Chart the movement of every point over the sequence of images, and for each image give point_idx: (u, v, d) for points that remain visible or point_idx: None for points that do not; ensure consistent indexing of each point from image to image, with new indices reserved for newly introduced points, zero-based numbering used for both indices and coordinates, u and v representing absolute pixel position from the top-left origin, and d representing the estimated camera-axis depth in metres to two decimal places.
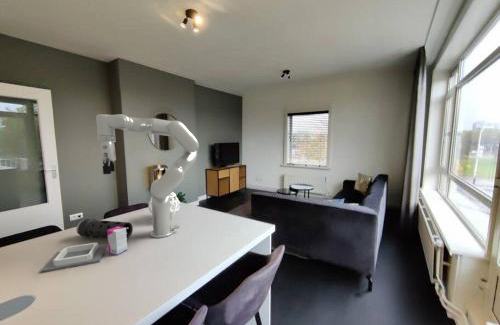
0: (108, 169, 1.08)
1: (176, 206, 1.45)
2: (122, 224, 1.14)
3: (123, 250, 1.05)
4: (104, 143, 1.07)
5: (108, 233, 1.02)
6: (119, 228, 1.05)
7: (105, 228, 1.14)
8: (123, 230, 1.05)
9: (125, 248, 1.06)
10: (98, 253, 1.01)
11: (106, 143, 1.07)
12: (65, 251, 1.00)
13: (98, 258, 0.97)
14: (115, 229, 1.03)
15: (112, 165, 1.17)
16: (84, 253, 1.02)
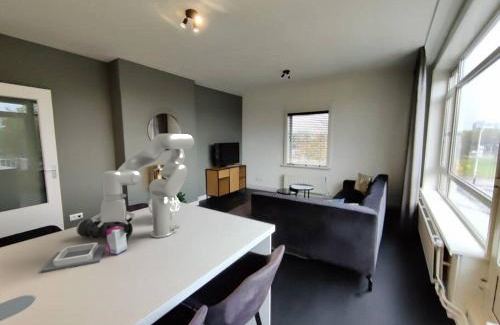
0: None
1: (176, 206, 1.45)
2: (122, 224, 1.14)
3: (123, 249, 1.05)
4: (124, 201, 1.04)
5: (107, 233, 1.02)
6: (118, 228, 1.04)
7: (105, 228, 1.14)
8: (122, 230, 1.04)
9: (125, 248, 1.06)
10: (98, 253, 1.01)
11: (124, 200, 1.05)
12: (65, 251, 1.00)
13: (98, 258, 0.97)
14: (114, 229, 1.03)
15: (103, 226, 1.02)
16: (84, 253, 1.02)
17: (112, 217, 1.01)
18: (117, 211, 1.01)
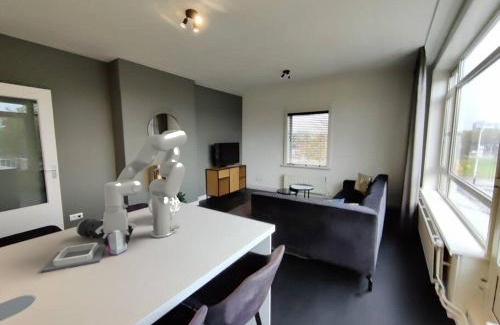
0: None
1: (176, 206, 1.45)
2: None
3: (123, 250, 1.05)
4: (125, 211, 1.05)
5: (108, 233, 1.02)
6: None
7: None
8: None
9: (125, 248, 1.06)
10: (98, 253, 1.01)
11: (126, 210, 1.05)
12: (65, 251, 1.00)
13: (98, 258, 0.97)
14: None
15: None
16: (84, 253, 1.02)
17: (115, 228, 1.02)
18: (119, 222, 1.02)
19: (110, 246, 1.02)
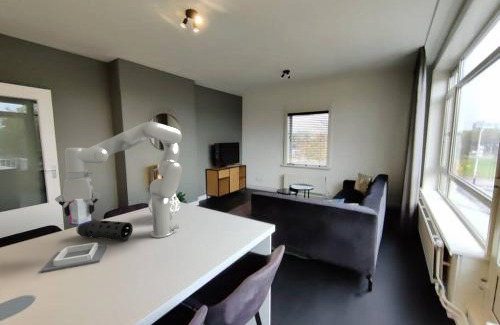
0: None
1: (176, 206, 1.45)
2: (122, 224, 1.14)
3: (86, 221, 0.98)
4: (89, 179, 0.98)
5: (69, 202, 0.96)
6: None
7: (105, 228, 1.14)
8: None
9: (89, 219, 0.99)
10: (98, 253, 1.01)
11: (90, 179, 0.99)
12: (65, 251, 1.00)
13: (98, 258, 0.97)
14: None
15: None
16: (84, 253, 1.02)
17: (77, 196, 0.95)
18: (82, 190, 0.96)
19: (71, 216, 0.96)
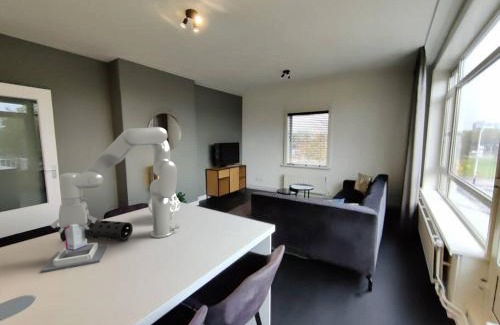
0: None
1: (176, 206, 1.45)
2: (122, 224, 1.14)
3: (82, 245, 0.99)
4: (85, 204, 0.99)
5: None
6: None
7: (105, 228, 1.14)
8: None
9: (85, 243, 1.00)
10: (98, 253, 1.01)
11: (85, 203, 0.99)
12: (65, 251, 1.00)
13: (98, 258, 0.97)
14: None
15: None
16: (84, 253, 1.02)
17: (72, 221, 0.96)
18: (77, 215, 0.96)
19: (67, 241, 0.96)
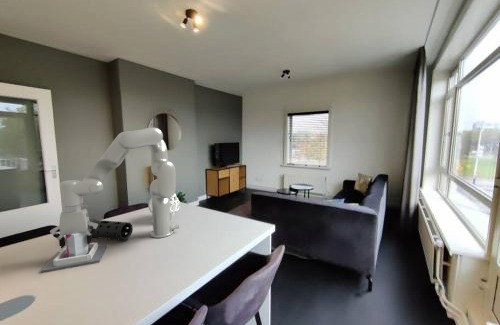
0: None
1: (176, 206, 1.45)
2: (122, 224, 1.14)
3: (83, 254, 0.99)
4: (85, 211, 0.99)
5: (66, 237, 0.97)
6: None
7: (105, 228, 1.14)
8: (83, 233, 0.99)
9: (86, 252, 1.00)
10: (98, 253, 1.01)
11: (86, 210, 1.00)
12: (65, 251, 1.00)
13: (98, 258, 0.97)
14: None
15: (64, 239, 0.98)
16: None
17: (73, 229, 0.96)
18: (78, 222, 0.96)
19: (69, 250, 0.97)
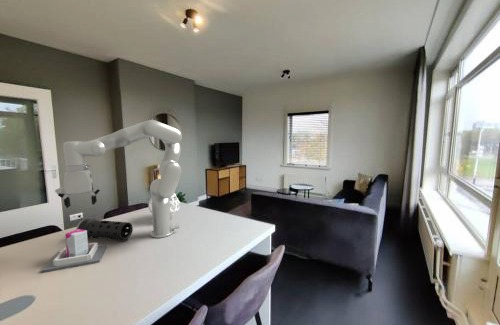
0: None
1: (176, 206, 1.45)
2: (122, 224, 1.14)
3: (83, 254, 0.99)
4: (89, 172, 1.01)
5: (66, 237, 0.97)
6: (79, 231, 0.99)
7: (105, 228, 1.14)
8: (83, 233, 0.99)
9: (86, 252, 1.00)
10: (98, 253, 1.01)
11: (89, 172, 1.02)
12: (65, 251, 1.00)
13: (98, 258, 0.97)
14: (74, 232, 0.98)
15: (69, 199, 1.00)
16: None
17: (77, 188, 0.98)
18: (82, 182, 0.98)
19: (69, 250, 0.97)
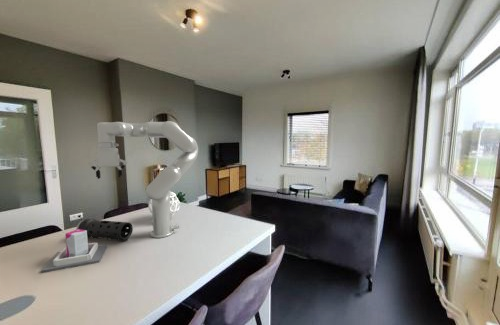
0: None
1: (176, 206, 1.45)
2: (122, 224, 1.14)
3: (83, 254, 0.99)
4: (117, 149, 1.18)
5: (66, 237, 0.97)
6: (79, 231, 0.99)
7: (105, 228, 1.14)
8: (83, 233, 0.99)
9: (86, 252, 1.00)
10: (98, 253, 1.01)
11: (117, 149, 1.19)
12: (65, 251, 1.00)
13: (98, 258, 0.97)
14: (74, 232, 0.98)
15: (99, 172, 1.17)
16: None
17: (107, 162, 1.15)
18: (111, 157, 1.16)
19: (69, 250, 0.97)
